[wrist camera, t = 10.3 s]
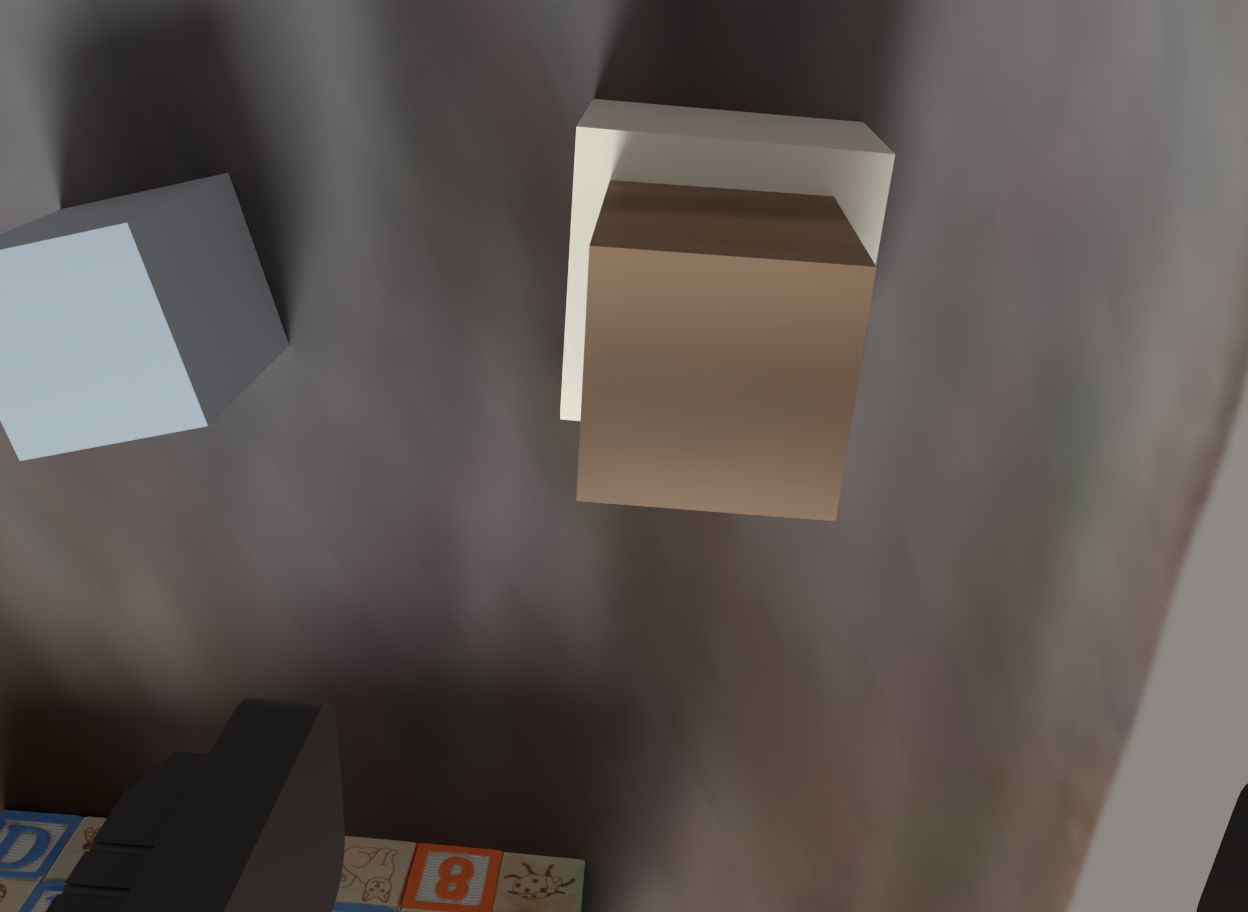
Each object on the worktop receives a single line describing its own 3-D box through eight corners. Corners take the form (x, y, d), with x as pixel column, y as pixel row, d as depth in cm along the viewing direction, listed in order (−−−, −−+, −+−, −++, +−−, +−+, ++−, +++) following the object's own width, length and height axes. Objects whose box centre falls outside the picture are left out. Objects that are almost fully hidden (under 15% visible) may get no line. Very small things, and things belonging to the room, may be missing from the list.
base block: (594, 98, 29) (576, 126, 24) (862, 121, 29) (895, 154, 24) (577, 351, 32) (559, 419, 27) (821, 373, 32) (844, 445, 27)
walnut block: (609, 180, 25) (589, 245, 19) (833, 196, 25) (876, 266, 19) (597, 388, 27) (576, 501, 21) (804, 404, 27) (835, 521, 21)
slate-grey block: (61, 208, 31) (-74, 265, 25) (228, 172, 30) (127, 222, 25) (131, 375, 33) (19, 460, 27) (289, 344, 32) (208, 426, 27)
